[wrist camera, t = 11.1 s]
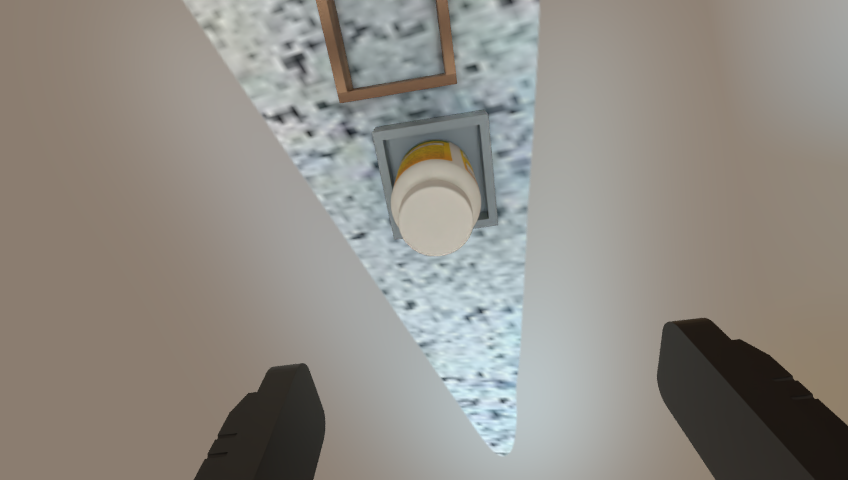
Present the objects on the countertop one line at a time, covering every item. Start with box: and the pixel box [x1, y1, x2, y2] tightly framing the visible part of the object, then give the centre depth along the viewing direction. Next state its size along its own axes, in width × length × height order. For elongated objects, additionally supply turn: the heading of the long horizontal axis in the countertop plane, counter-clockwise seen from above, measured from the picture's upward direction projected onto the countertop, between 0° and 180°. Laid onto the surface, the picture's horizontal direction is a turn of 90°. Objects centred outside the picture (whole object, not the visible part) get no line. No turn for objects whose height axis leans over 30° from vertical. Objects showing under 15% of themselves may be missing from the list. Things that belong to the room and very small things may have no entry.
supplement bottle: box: [391, 139, 481, 256], centre depth 26 cm, size 5×5×10 cm
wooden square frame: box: [316, 0, 457, 103], centre depth 25 cm, size 8×8×2 cm
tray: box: [372, 110, 498, 240], centre depth 30 cm, size 8×8×2 cm
